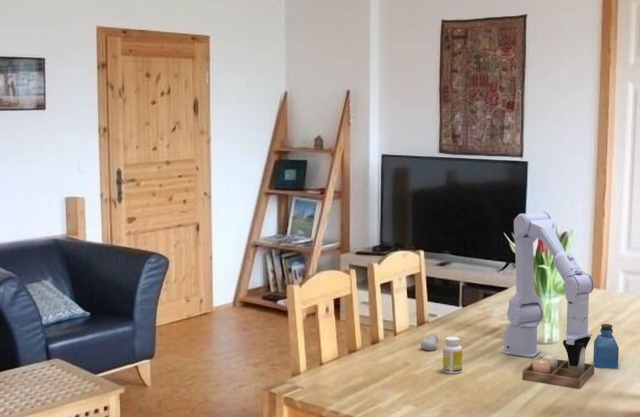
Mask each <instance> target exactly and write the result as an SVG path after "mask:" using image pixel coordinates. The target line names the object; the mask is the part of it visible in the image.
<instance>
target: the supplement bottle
mask: <svg viewBox="0 0 640 417" xmlns="http://www.w3.org/2000/svg"><path fill="white" fill-rule="evenodd" d="M460 342H461V338H460V337H458V336H446V338H445V345H443V349H442V370H443V372H444V373H446V374H450V375H454V374H460V373H462V372H463V347H462V346H461V345H460Z"/></svg>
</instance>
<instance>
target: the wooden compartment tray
mask: <svg viewBox="0 0 640 417" xmlns="http://www.w3.org/2000/svg"><path fill="white" fill-rule="evenodd" d="M543 357H544V356H539V357H538V358H543ZM556 359H557V361H558V365H557V367H553V366H550V374H543V373H537V372H533V362H531V363H530V364H529V365H528V366H527V367H525V368H524V369H523V370H522V372H521V373H522V376H521V377H522V378H521V379H522V380H525V381H529V382H530V381H531V382H537V383H543V384H548V385H549V384H550V385H556V386H561V387H569V388H574V389H581V388H582V387H583V386H584V385H585V383H586V382H587V381H588V380H589V379H590V378H591V377H592V376H594V374H595V368H596V367H595V365H594V363H586V362H585V371H579V370H573V369H568V360H566V359H559V358H556Z"/></svg>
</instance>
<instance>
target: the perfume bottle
mask: <svg viewBox="0 0 640 417" xmlns="http://www.w3.org/2000/svg"><path fill="white" fill-rule="evenodd" d="M600 333H601V334H600ZM600 333H598V334H597V336H596V338H595V339H594V341H593V359H592V360H593V362H592V363H593V365H595V367H594V368H595V369H609V370H610V369H614V370H615V369H616V370H618V369H619V351H620V350H619V349H620V348H619V345H618V344H617V340H616V339H615V337H614V334H613V333H614V329H613V324H610V323H603V324H601V328H600Z"/></svg>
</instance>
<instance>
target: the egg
mask: <svg viewBox="0 0 640 417" xmlns="http://www.w3.org/2000/svg"><path fill="white" fill-rule="evenodd" d="M542 357H543V358H546V359H549V360H550V361H551V365H550V366H553V367H557V365H558V361H557V359H558V358H557V357H556V356H555V355H553V354H545V355H544V356H542Z"/></svg>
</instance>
